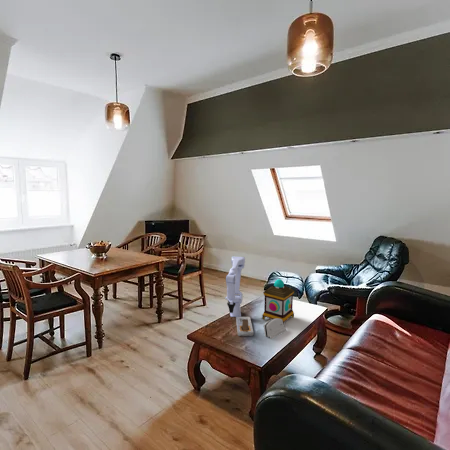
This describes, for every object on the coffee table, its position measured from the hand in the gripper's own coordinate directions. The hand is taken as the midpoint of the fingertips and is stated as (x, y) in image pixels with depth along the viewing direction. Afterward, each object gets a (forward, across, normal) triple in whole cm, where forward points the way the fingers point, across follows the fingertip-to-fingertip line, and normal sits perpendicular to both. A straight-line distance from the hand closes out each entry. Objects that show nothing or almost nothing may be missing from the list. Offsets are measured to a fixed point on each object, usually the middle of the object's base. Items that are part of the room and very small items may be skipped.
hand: (230, 310), depth 208 cm
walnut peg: (+10, +11, +9) cm, 18 cm away
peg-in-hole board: (+10, +5, +9) cm, 15 cm away
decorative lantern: (+11, -8, +35) cm, 37 cm away
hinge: (+11, +12, +29) cm, 33 cm away
